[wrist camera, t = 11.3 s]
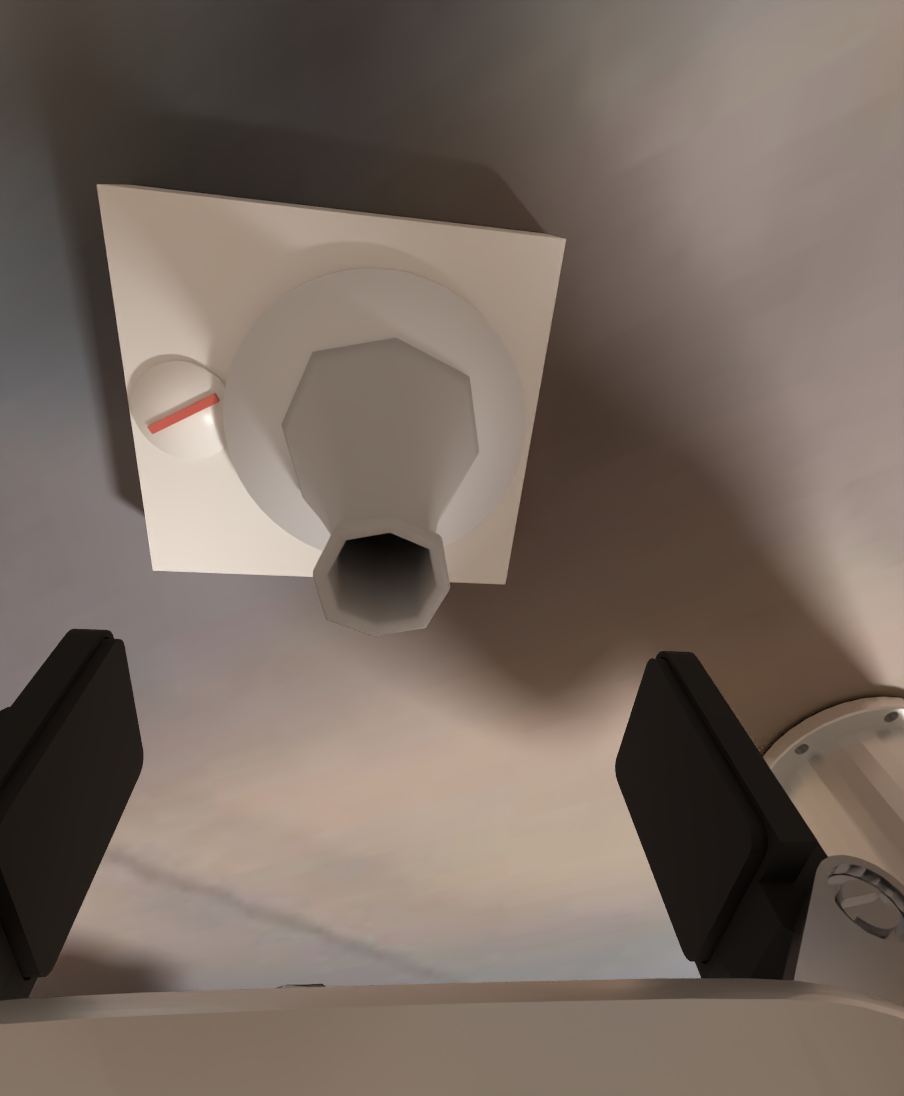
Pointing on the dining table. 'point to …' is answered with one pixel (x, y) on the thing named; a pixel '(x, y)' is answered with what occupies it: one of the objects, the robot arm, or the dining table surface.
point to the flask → (381, 477)
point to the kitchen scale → (284, 351)
